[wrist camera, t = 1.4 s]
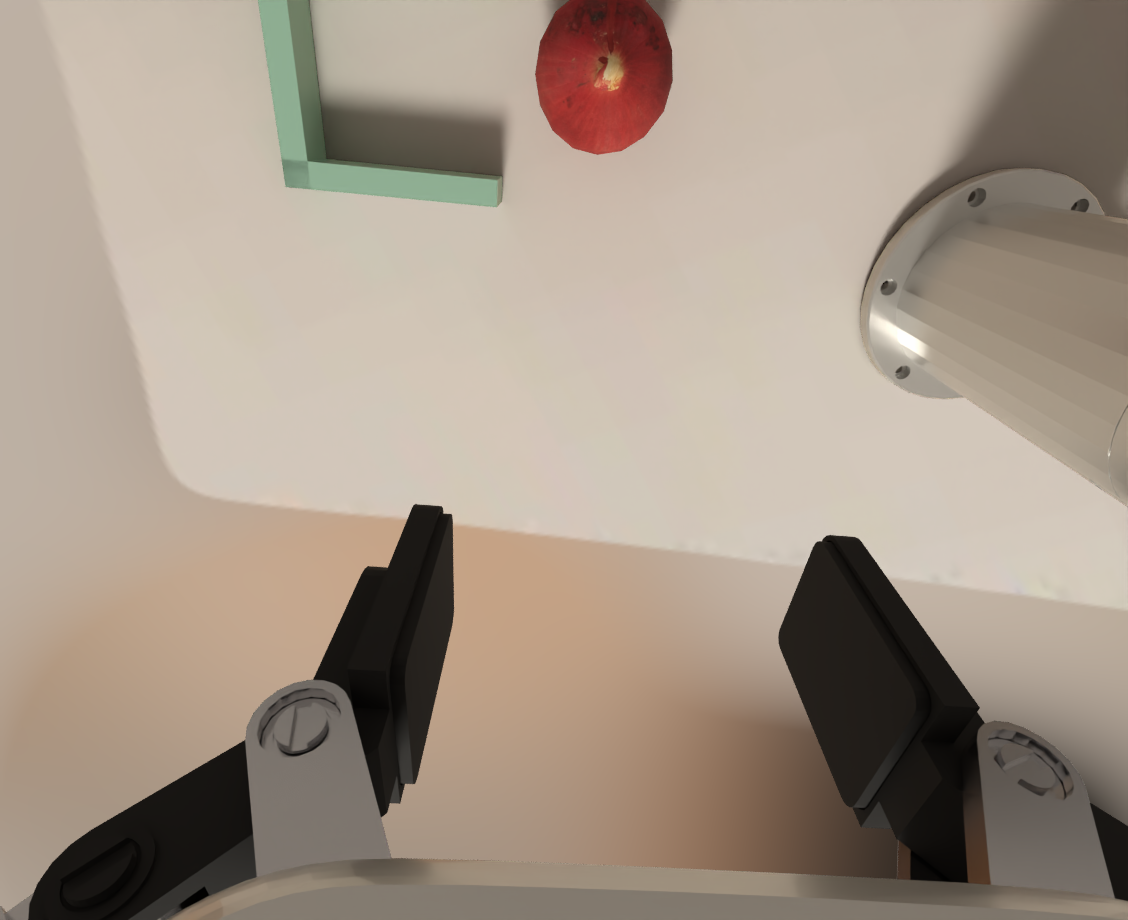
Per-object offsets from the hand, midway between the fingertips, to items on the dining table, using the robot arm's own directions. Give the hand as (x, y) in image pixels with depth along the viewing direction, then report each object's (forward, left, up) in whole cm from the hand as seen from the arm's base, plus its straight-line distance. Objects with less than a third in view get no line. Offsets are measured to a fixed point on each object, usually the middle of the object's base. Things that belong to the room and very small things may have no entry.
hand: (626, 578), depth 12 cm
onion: (+1, -10, -24) cm, 26 cm away
